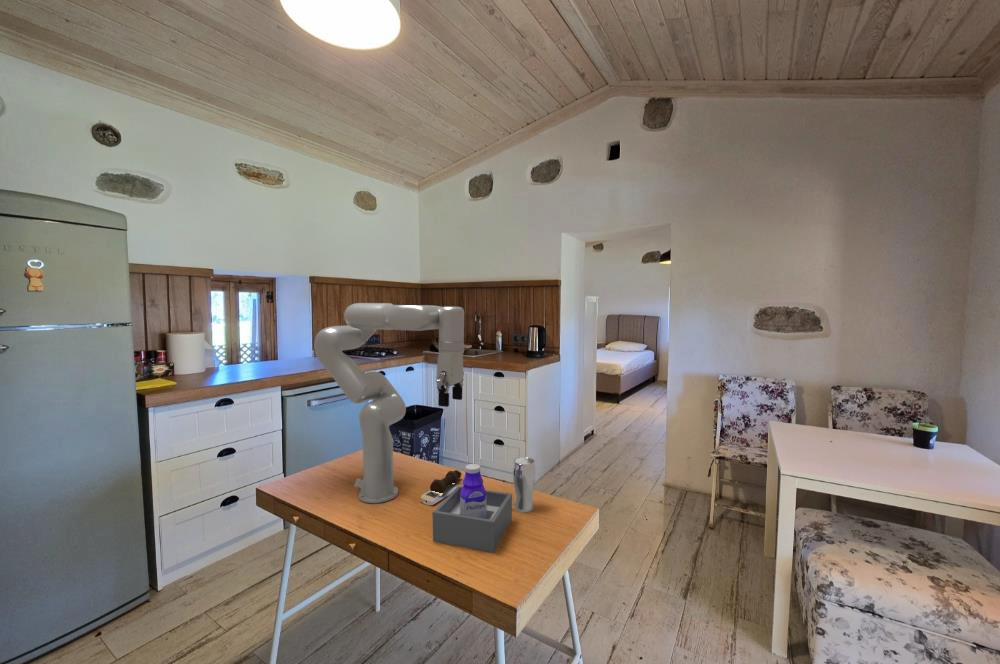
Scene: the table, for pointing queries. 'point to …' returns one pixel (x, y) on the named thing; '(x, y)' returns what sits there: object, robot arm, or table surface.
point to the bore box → (472, 522)
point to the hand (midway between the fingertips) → (450, 402)
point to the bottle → (473, 493)
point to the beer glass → (524, 483)
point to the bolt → (445, 481)
